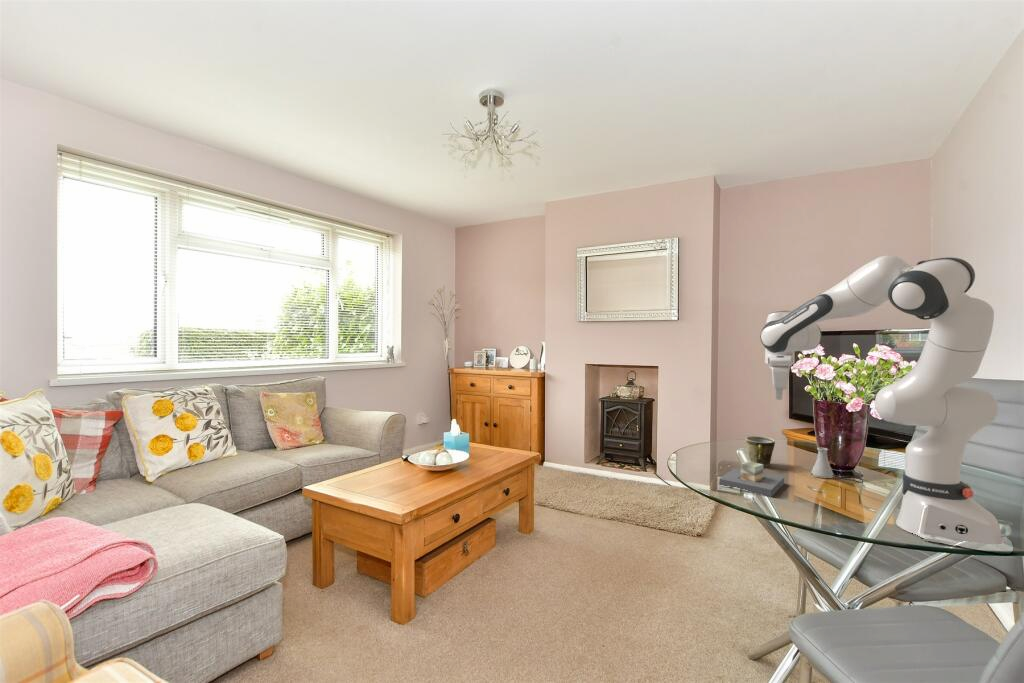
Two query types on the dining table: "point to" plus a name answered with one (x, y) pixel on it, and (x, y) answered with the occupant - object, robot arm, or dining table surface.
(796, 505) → the dining table surface
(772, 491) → the pocket plate
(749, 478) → the faceted block
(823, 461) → the flask
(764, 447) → the ceramic cup
